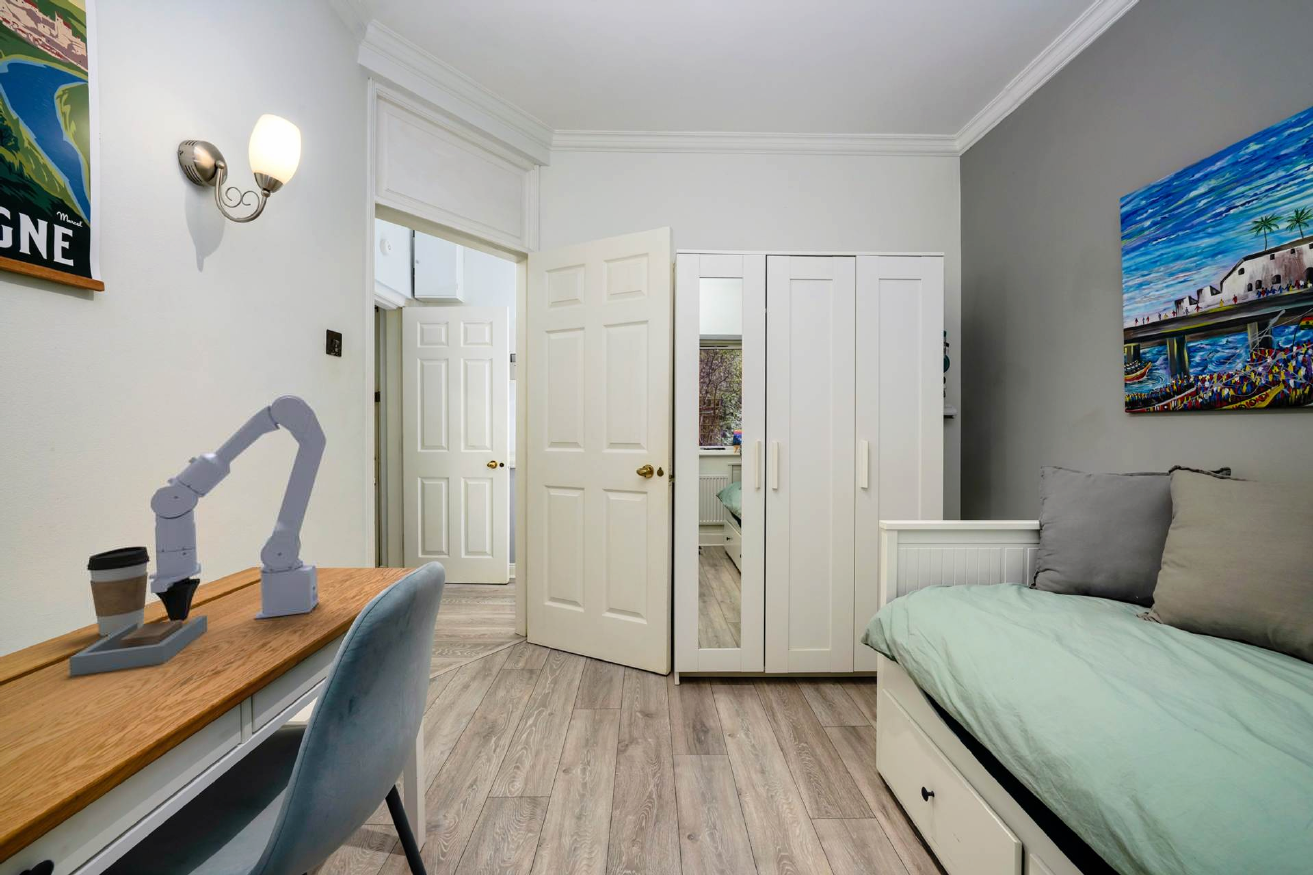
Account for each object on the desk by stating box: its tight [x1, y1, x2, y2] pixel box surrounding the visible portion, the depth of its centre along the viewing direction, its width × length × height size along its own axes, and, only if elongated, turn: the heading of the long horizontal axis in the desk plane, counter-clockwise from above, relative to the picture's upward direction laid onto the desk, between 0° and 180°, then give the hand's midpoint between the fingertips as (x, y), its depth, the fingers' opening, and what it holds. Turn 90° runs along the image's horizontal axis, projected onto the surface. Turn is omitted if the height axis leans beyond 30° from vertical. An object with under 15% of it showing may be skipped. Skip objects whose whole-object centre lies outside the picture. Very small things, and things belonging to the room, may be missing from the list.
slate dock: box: [69, 614, 208, 677], centre depth 91 cm, size 11×16×3 cm
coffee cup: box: [86, 545, 150, 637], centre depth 102 cm, size 8×8×15 cm
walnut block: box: [121, 620, 183, 649], centre depth 92 cm, size 5×8×4 cm, turn 21°
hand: (179, 620), depth 102 cm, fingers closed
